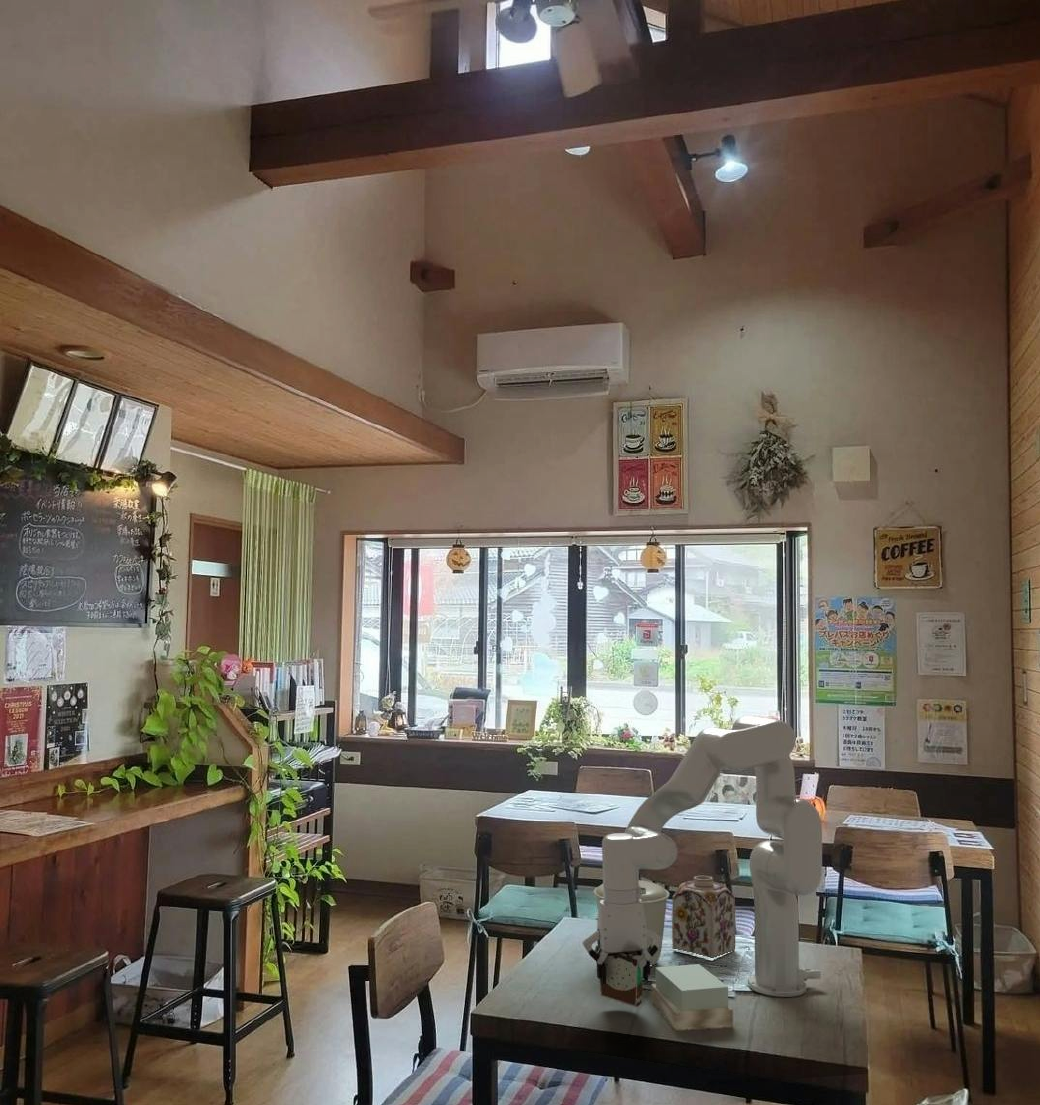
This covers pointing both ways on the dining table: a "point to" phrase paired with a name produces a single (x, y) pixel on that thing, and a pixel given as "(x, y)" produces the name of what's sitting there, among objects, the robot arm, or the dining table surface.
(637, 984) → the food container
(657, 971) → the upper slab
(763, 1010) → the dining table surface
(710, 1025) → the lower slab
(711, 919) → the decorative jar
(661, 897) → the canister
